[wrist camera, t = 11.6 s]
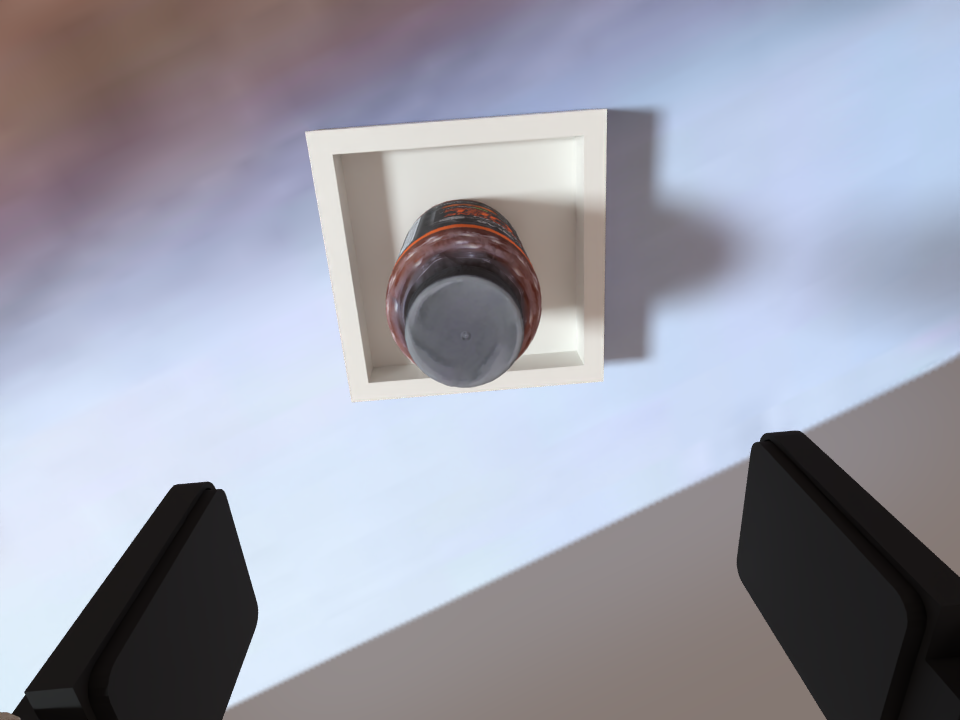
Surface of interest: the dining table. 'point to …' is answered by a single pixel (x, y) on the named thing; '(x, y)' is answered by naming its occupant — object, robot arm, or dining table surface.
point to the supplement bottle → (463, 295)
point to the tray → (479, 177)
